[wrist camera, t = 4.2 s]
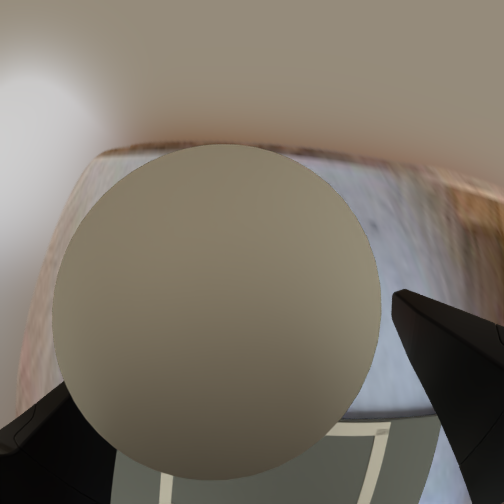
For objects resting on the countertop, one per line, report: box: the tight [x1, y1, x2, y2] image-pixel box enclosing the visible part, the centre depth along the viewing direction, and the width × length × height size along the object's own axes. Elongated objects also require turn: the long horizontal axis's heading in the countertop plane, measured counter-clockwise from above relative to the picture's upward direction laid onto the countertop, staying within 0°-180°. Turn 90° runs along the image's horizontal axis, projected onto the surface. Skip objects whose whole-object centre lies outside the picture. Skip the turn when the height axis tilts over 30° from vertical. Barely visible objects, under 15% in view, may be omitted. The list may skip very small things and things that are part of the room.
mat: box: [111, 414, 441, 504], centre depth 11 cm, size 22×13×1 cm, turn 82°
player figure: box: [52, 144, 381, 480], centre depth 9 cm, size 5×5×13 cm
